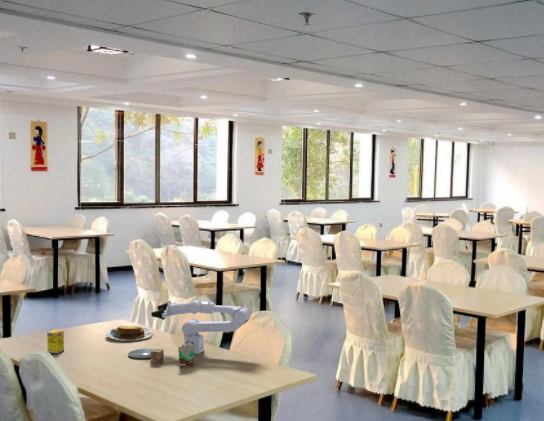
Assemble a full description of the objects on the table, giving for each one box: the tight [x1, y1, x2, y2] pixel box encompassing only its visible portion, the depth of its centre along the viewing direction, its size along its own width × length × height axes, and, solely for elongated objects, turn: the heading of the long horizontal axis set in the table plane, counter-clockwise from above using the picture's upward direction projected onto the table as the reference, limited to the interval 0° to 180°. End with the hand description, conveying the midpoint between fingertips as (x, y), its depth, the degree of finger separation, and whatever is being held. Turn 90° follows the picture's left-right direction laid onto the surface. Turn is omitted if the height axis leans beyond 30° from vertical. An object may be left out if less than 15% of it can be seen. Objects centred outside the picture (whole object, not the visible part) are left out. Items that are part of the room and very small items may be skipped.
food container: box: [177, 341, 196, 368], centre depth 317 cm, size 12×6×10 cm, turn 168°
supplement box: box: [46, 329, 65, 356], centre depth 338 cm, size 6×6×11 cm
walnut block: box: [150, 348, 165, 365], centre depth 321 cm, size 4×4×6 cm
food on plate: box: [105, 325, 153, 342], centre depth 370 cm, size 25×25×7 cm
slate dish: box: [127, 348, 155, 359], centre depth 334 cm, size 16×16×1 cm
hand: (154, 311), depth 344 cm, fingers open, 7 cm apart
